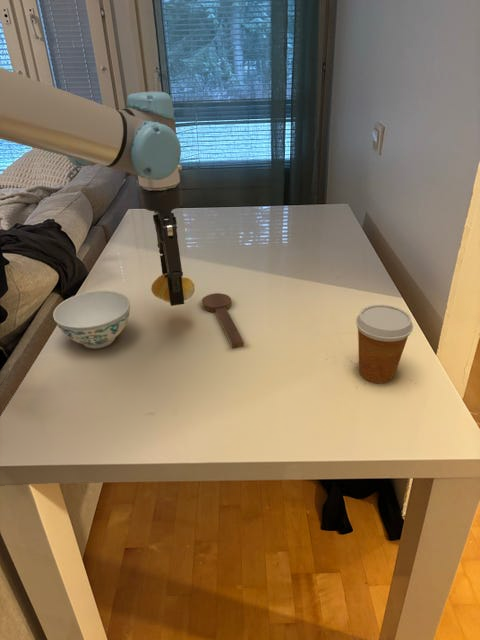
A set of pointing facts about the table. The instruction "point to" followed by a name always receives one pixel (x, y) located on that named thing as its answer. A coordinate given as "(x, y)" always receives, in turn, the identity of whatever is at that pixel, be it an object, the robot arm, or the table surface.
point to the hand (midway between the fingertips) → (173, 292)
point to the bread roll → (162, 289)
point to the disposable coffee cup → (381, 341)
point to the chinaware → (93, 317)
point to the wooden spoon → (223, 316)
